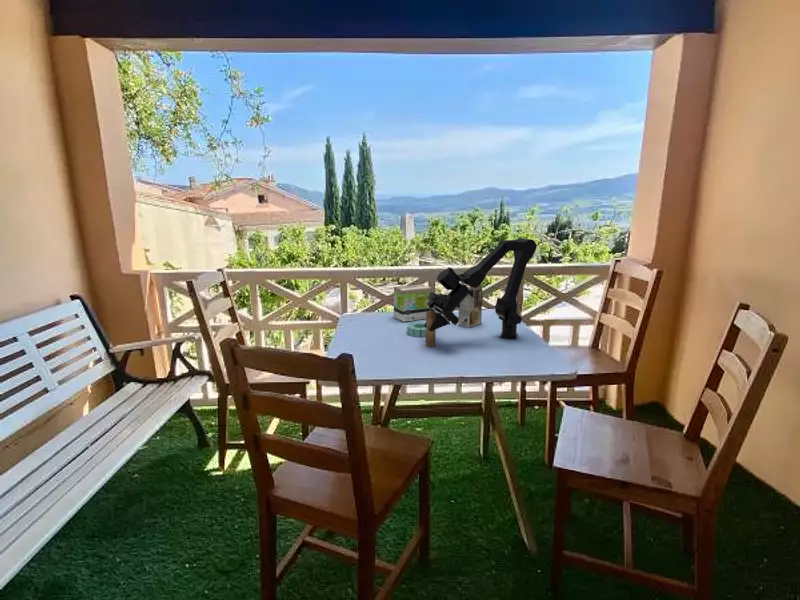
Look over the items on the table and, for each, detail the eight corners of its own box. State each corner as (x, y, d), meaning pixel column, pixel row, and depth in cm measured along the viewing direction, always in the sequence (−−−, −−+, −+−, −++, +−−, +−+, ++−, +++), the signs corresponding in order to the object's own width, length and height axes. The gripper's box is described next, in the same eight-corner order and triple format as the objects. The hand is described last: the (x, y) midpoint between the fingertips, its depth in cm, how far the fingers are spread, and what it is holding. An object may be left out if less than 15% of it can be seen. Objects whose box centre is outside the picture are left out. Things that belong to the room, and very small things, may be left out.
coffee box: (469, 321, 205) (470, 285, 202) (481, 323, 201) (483, 287, 197) (457, 325, 199) (458, 289, 195) (469, 328, 195) (470, 291, 191)
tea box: (403, 323, 203) (403, 290, 200) (393, 317, 212) (392, 286, 209) (432, 318, 210) (432, 287, 207) (421, 313, 219) (421, 283, 216)
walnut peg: (427, 343, 176) (427, 310, 173) (436, 344, 174) (436, 311, 171) (424, 346, 172) (425, 312, 169) (434, 347, 171) (434, 313, 168)
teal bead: (412, 328, 196) (412, 321, 195) (437, 330, 192) (437, 323, 191) (403, 335, 185) (403, 328, 185) (430, 338, 182) (430, 330, 181)
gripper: (431, 279, 178) (405, 309, 177) (451, 289, 161) (421, 322, 160) (450, 297, 182) (423, 327, 181) (471, 308, 165) (442, 341, 164)
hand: (427, 328), depth 171 cm, fingers open, 5 cm apart
